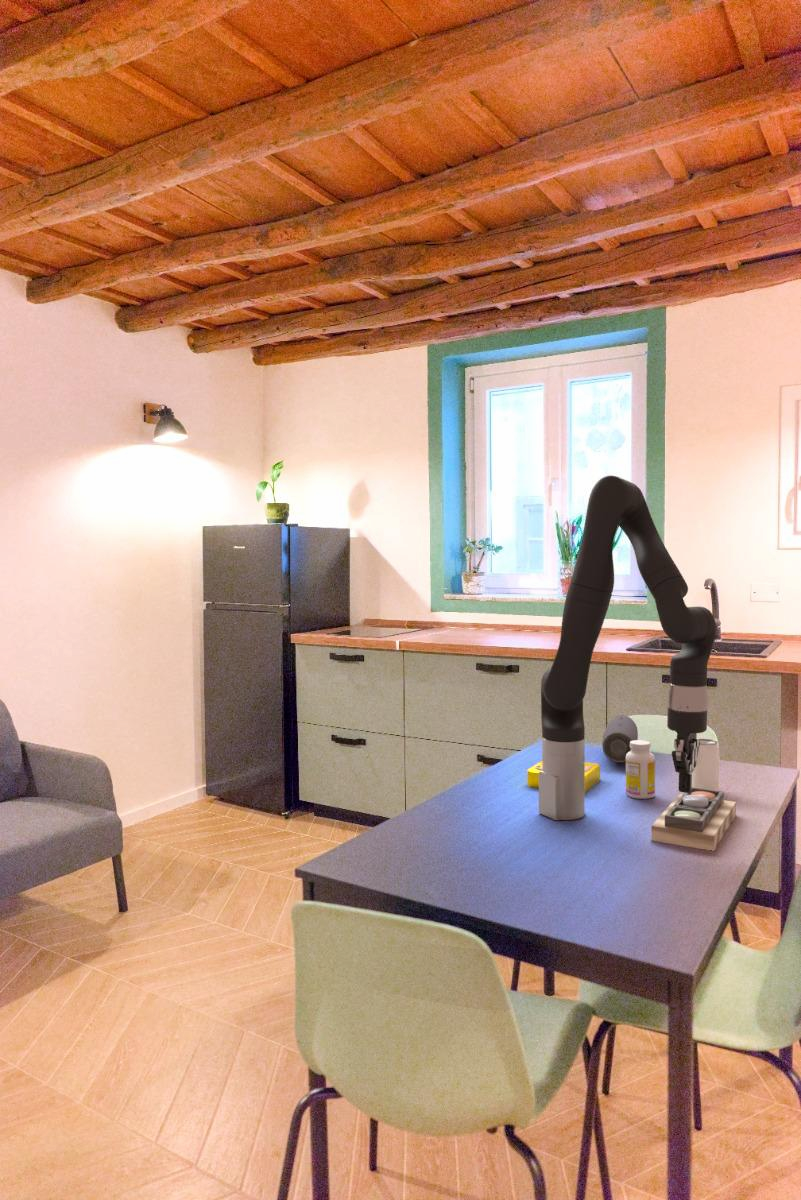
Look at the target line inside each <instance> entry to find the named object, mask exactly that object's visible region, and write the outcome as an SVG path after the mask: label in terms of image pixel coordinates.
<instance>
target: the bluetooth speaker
mask: <svg viewBox="0 0 801 1200" xmlns="http://www.w3.org/2000/svg"><path fill="white" fill-rule="evenodd" d="M605 727H606V728H605V730H604V732H603V733H602V734H603V736H602V742H601V745H602V746H601V747H602V751H603V754H604V755H605V757H606V758H607V759H609V760H610V761H612V762H614V763H626V754H627V753H628V752H630V751H631V748H630V741H633V740H639V739H638V738H639V732H638V726H637V724H636V722H635V721H634V720H633V719H632V718H631V717H629V716H627V715H616V716H614V717H613V718H612V719H610V721H609V722H608V723H607V725H606V726H605Z"/></svg>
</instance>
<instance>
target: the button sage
mask: <svg viewBox="0 0 801 1200" xmlns="http://www.w3.org/2000/svg"><path fill="white" fill-rule="evenodd" d="M674 816H677V817H684V818H690V819H697V820H700V817H701V816H700V814H698V813H696V812H692V811H677V812H675V813H674Z"/></svg>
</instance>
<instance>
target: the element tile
mask: <svg viewBox="0 0 801 1200" xmlns="http://www.w3.org/2000/svg"><path fill="white" fill-rule="evenodd" d="M526 771H527V773H526V777H527V780H526V783H527V784H526V785H527V786H528V787H531V788H537V789H539V771H542V760H541V761H539V762H537V763H536V764H534V765H532V766H531V767H529V768H528V769H526ZM598 781H599V782H600V781H601V765H600V764H599V763H595V762H589V761H588V762H587V761H585V793H587V792H588V791H589V790H591V789H592V788H593V787H594V786H595V785H596V783H597V782H598ZM599 782H598V783H599ZM598 783H597V784H598ZM593 785H594V786H593ZM592 786H593V787H592ZM591 787H592V788H591ZM588 789H589V790H588ZM587 790H588V791H587ZM586 791H587V792H586Z"/></svg>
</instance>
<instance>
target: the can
mask: <svg viewBox="0 0 801 1200" xmlns="http://www.w3.org/2000/svg"><path fill="white" fill-rule="evenodd" d="M698 739H699V741H700V746H699V751H698V756H697V762H696V767H695V768H694V771H693V773H692V787H694V788H701V789H708V790H716V791H720V748H719V745H718V741H717V740H715V739H712V738H711V739H709V738H698Z"/></svg>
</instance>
